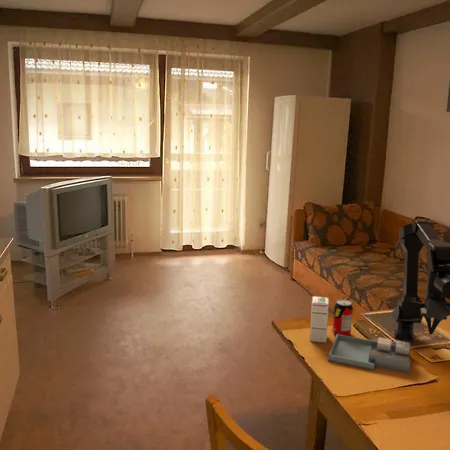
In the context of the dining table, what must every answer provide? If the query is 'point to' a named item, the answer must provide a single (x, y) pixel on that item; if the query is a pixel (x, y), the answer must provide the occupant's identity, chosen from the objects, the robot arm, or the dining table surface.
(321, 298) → the syrup box
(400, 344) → the grey cubic piece
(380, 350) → the brushed metal cube
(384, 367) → the slot plate
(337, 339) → the tray
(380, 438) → the dining table surface
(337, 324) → the beverage can
